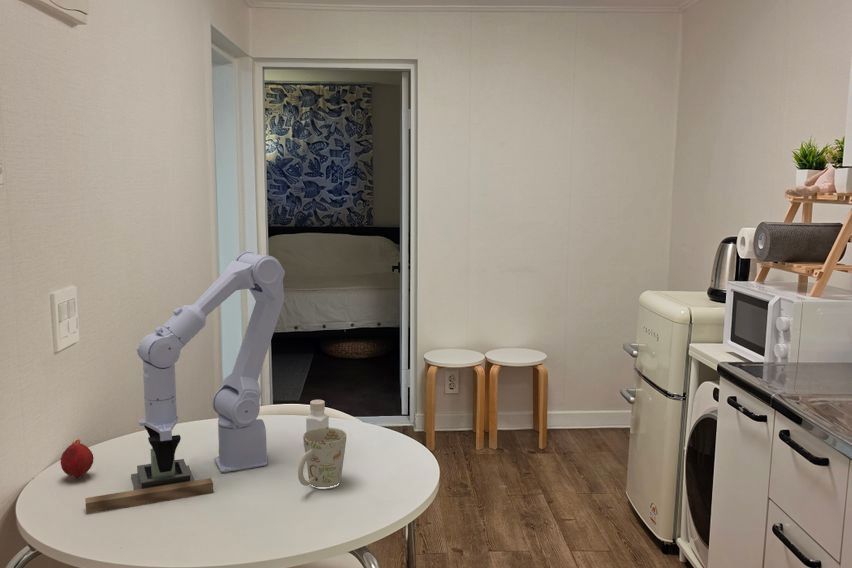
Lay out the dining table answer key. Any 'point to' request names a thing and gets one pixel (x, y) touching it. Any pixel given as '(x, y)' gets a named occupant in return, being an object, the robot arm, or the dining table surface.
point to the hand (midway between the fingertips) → (163, 463)
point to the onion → (76, 459)
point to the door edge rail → (148, 495)
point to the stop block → (155, 468)
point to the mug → (323, 457)
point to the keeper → (145, 477)
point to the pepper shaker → (317, 416)
